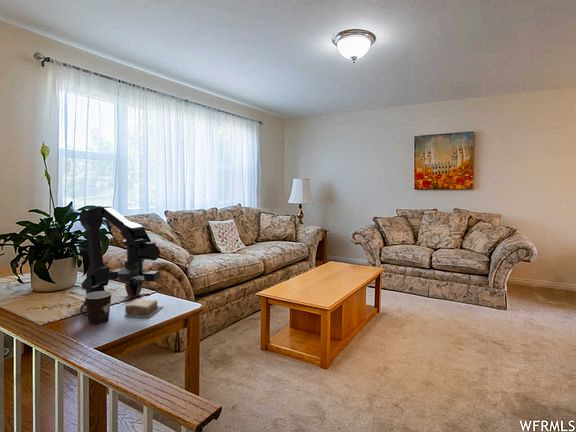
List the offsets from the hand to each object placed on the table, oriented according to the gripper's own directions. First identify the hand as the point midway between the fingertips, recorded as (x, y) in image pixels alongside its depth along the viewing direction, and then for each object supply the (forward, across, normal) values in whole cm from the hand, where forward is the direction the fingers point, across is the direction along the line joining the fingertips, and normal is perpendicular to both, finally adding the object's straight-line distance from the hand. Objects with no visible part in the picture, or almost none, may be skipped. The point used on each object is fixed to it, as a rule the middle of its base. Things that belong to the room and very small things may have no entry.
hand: (135, 296), depth 138 cm
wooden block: (+4, -2, 0) cm, 5 cm away
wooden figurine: (+6, -11, +18) cm, 22 cm away
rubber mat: (+6, +4, 0) cm, 7 cm away
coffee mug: (+6, -8, -13) cm, 17 cm away
